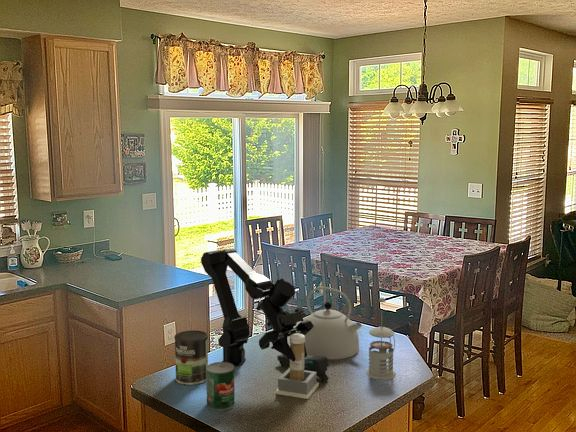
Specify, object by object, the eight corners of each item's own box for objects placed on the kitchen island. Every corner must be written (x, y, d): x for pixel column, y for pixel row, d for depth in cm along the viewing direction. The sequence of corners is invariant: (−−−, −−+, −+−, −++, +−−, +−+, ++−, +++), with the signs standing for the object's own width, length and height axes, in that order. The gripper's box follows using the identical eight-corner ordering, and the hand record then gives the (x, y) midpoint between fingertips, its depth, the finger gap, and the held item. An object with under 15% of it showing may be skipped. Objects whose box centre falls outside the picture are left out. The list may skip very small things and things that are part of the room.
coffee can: (198, 387, 176) (197, 342, 175) (169, 382, 180) (168, 338, 178) (214, 374, 186) (213, 332, 184) (186, 370, 189) (185, 328, 188)
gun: (323, 383, 178) (315, 351, 179) (282, 386, 192) (275, 356, 194) (333, 379, 181) (325, 348, 182) (292, 382, 195) (285, 353, 197)
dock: (275, 393, 172) (275, 379, 171) (288, 380, 181) (288, 367, 180) (307, 398, 168) (307, 384, 167) (318, 385, 177) (318, 371, 177)
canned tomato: (227, 412, 160) (226, 374, 158) (201, 408, 162) (200, 370, 161) (239, 400, 167) (238, 363, 166) (214, 396, 170) (214, 360, 168)
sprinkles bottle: (287, 380, 173) (287, 336, 171) (292, 374, 177) (292, 332, 175) (301, 382, 171) (301, 338, 169) (306, 376, 175) (307, 334, 174)
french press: (359, 373, 186) (360, 298, 183) (379, 363, 195) (381, 291, 192) (385, 382, 180) (386, 303, 177) (405, 371, 188) (406, 296, 185)
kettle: (375, 346, 212) (376, 286, 209) (346, 365, 193) (346, 300, 191) (316, 334, 226) (317, 277, 223) (284, 351, 207) (284, 289, 204)
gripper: (265, 306, 168) (291, 353, 161) (309, 294, 180) (336, 337, 174) (247, 326, 174) (272, 372, 168) (292, 313, 187) (316, 355, 181)
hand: (300, 358), depth 172 cm, fingers closed on sprinkles bottle, 4 cm apart
